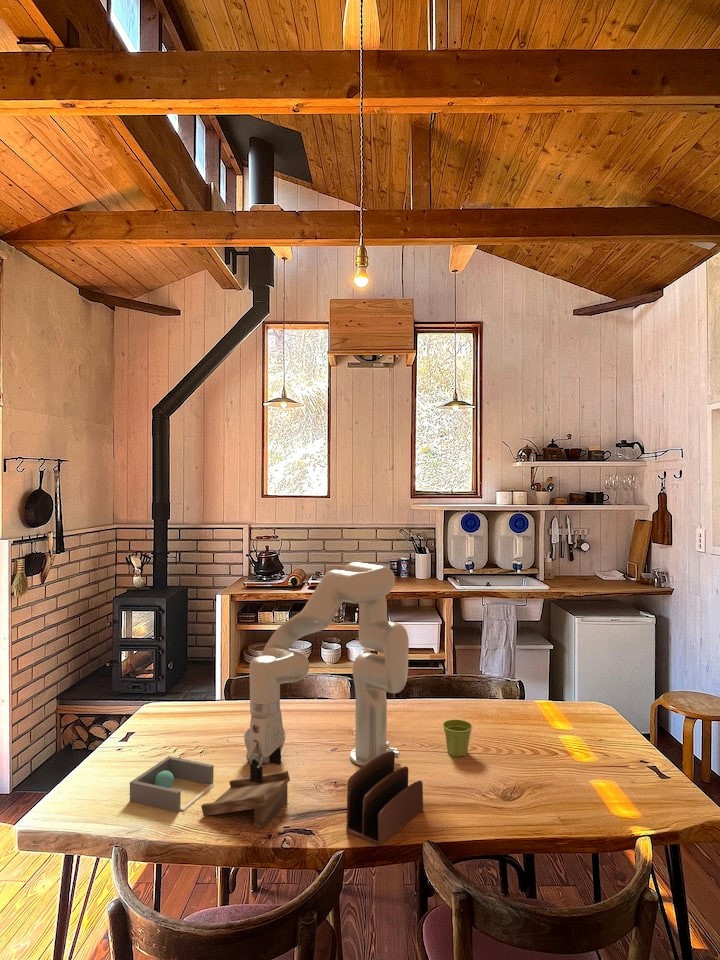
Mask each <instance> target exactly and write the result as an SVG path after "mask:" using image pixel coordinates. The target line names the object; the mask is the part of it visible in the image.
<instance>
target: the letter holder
mask: <svg viewBox="0 0 720 960" xmlns="http://www.w3.org/2000/svg"><path fill="white" fill-rule="evenodd" d="M395 759H396V758H395V753H394V751H389V752H387V753H384V754H382V755H380V756H378V757H376V758H375V759H373V760H372V761H370V762H369V763H367V764H366V765H364V766H361V767H360V768H359V769H358V770H357V771H355V772H354V773H353V774H352V775H350V777H349V779H348V781H347V790H346V791H347V793H346V830H345V831H346V832H347V833H349V834H351V835H352V836H355V837H357V838H360V839H361V840H364V841H366V842H368V841H369V843H371V844H373V845H375V844H376V845H375V846H377V845H378V847H381V846H382V845H383V844H384V843H385V842H386V841H387V840H388V838H389V839H390V838H391V837H393V835H394V833H395V832H396V831H397V830H398V829H399V828H400V827H402V826H403V825H404V824H405V825H407V824H408V823H409V822H410V821H412V820H413V819H414V818H415V817H416V816H418V815H419V814H420V813H421V812H422V811H423V810H424V791H423V789H424V788H423V787H424V785H423V781H422V780H417V781H415V782H413V783H411V784H409V767H408V766H403V767H400V768H397V769H396V770H395V761H396V760H395ZM418 813H419V814H418ZM412 818H413V819H412ZM407 822H408V823H407ZM406 823H407V824H406ZM405 825H404V826H405ZM404 826H403V827H404ZM403 827H402V828H403ZM399 830H400V829H399ZM399 830H398V831H399ZM398 831H397V832H398ZM397 832H396V833H397ZM390 836H391V837H390ZM383 842H384V843H383Z"/></svg>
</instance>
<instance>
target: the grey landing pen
mask: <svg viewBox="0 0 720 960" xmlns="http://www.w3.org/2000/svg"><path fill="white" fill-rule="evenodd" d="M162 771H169V772H171V773H172V774H173V776H174V779H181V780H185V781H191V782H195V783H199V784H205V785H208V786H206V787H205V788H204V789H203V790H202V791H201V792H199V793H198V794H197V795H195V797H193V798H192V799H190V801H188V802H186V803H185V805H183V807H181V805H182V804H181V798H182V797H181V792H182V791H181V790H180V789H175V788H172V787H171V788H166V787H162V786H157V785H155V778H156V776H157V775H158V774H159V773H160V772H162ZM213 787H215V784H214V764H209V763H205V762H201V761H194V760H191V759H186V758H185V759H184V758H179V757H174V756H167V757H166V758H164V759H162V760H161V761H160V762H157V763H156V764H155V765H154V766H152V767H151V768H150V767H149V769H147V770H146V771H145V772H143V773H141V774H140V775H139V776H137V777H135V778H134V779H133V780H131V781H130V782H129V802H131V803H135V804H139V805H143V806H147V807H148V806H149V807H152V808H156V809H157V808H158V809H160V810H166V811H170V812H174V813H179V812H180V811H183V812H184V811H185V810H187V809H188V808H189V807H190V806H191V805H193V804H194V803H195V802H196V801H198V800H199V799H200V798H201V797H202V796H203V795H205V794H206V793H207V792H208V791H209V790H211V789H212V788H213Z"/></svg>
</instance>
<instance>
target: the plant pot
mask: <svg viewBox="0 0 720 960" xmlns="http://www.w3.org/2000/svg"><path fill="white" fill-rule="evenodd" d="M442 728H443V731H444V734H445V742H446V743H445V744H446V748H447V750H446V751H447V753H448V754H449V755H450V756H452V757H456V758H457V757H458V758H459V757H465V756H467V755H468V751H469V744H470V743H469V742H470V736H471V733H472V730H473V729H474V727H473V724H472V723H471V722H470V721H467V720H464V719H457V718H456V719H455V718H454V719H448V720H445V721H443V722H442Z"/></svg>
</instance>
